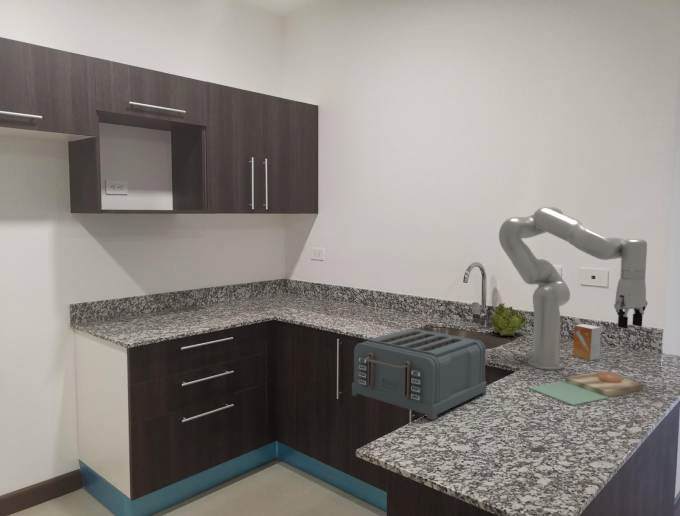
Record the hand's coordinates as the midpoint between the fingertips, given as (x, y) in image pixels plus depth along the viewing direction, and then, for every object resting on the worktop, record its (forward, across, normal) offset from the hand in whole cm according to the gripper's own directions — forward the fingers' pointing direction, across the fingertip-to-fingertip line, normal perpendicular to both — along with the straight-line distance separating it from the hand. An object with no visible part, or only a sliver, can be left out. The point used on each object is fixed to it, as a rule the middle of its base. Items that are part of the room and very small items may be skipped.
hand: (629, 326), depth 188 cm
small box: (+20, -15, -29) cm, 38 cm away
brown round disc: (+18, +9, 0) cm, 20 cm away
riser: (+20, +12, 0) cm, 23 cm away
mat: (+20, +29, 0) cm, 35 cm away
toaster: (+20, +75, -19) cm, 80 cm away
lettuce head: (+20, -13, -72) cm, 75 cm away
